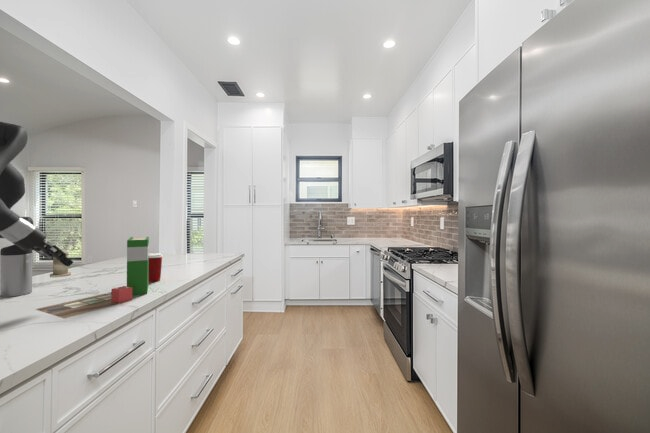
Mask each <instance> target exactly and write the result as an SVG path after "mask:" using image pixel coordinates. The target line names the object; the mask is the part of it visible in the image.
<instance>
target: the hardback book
mask: <svg viewBox="0 0 650 433" xmlns="http://www.w3.org/2000/svg"><path fill="white" fill-rule="evenodd" d="M149 247H150V236H146V237H144V238H143V237H141V238H140V237H139V238H138V237H137V238H134V237H133V236H130V237H129V238H128V239H127V240H126V286H127V287H132V297H133V296H140V295H142V296H143V295H148V290H149V282H148V280H149V254H150V252H149V251H150V248H149Z"/></svg>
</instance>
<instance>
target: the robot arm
mask: <svg viewBox="0 0 650 433" xmlns="http://www.w3.org/2000/svg"><path fill="white" fill-rule="evenodd" d="M28 135H29V134H28V132H27V130H26V128H25V127H24V126H21V125H18V124H15V123H10V122H4V121H0V239H5V240H7V241H9V242H10V243H12V245H9V246H8V245H7V246H5V247H2V248H1V249H0V297H2V298H7V297H8V298H9V297H10V298H11V297H18V296H19V297H20V296H23V295H27V294H31V293H32V292H33V251H34V252H35V253H37V254H39V255H41V256H42V257H44V258H46V259H48V260H52V261H53V258H55V259H56V260H57V261H60V262H61V263H63V264H64V265H66V266H68V267H70V266H72V265H73V264H74V261H73V260H72V259H70V258H69V257H68V258H67V257H66V254H65V253H64V252H63V251H61V250H60V248H59V247H58V246H57V245H56V244H53V243H51V242H50V241H45V239H46V238H47V233H45V232H44V231H43V230H41V229H40V228H39V227H37V226H35V225H34V220H33V218H32V217H31V216H20V215H19V214H17V213H16V212H14V211H13V210H12V208H13V206H15V205H16V204H17V203H18V202H19V201H20V200H21V199H22V198H23V197H24V195H25V193H26V187H25V186H26V185H25V178H24V176H23V175H22V173H21V172H20V171H19V170H18V169H17V168H16V167H15V166H14V165H13V164H12V163H11V162H13V161H14V160H15V158H16V157H17V156H18V155H19V154H20V153H21V152H22V151H23V150H24V149H25V148H26V145H27V143H28V137H29V136H28ZM59 254H60V256H59V257H58V255H59Z"/></svg>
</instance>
